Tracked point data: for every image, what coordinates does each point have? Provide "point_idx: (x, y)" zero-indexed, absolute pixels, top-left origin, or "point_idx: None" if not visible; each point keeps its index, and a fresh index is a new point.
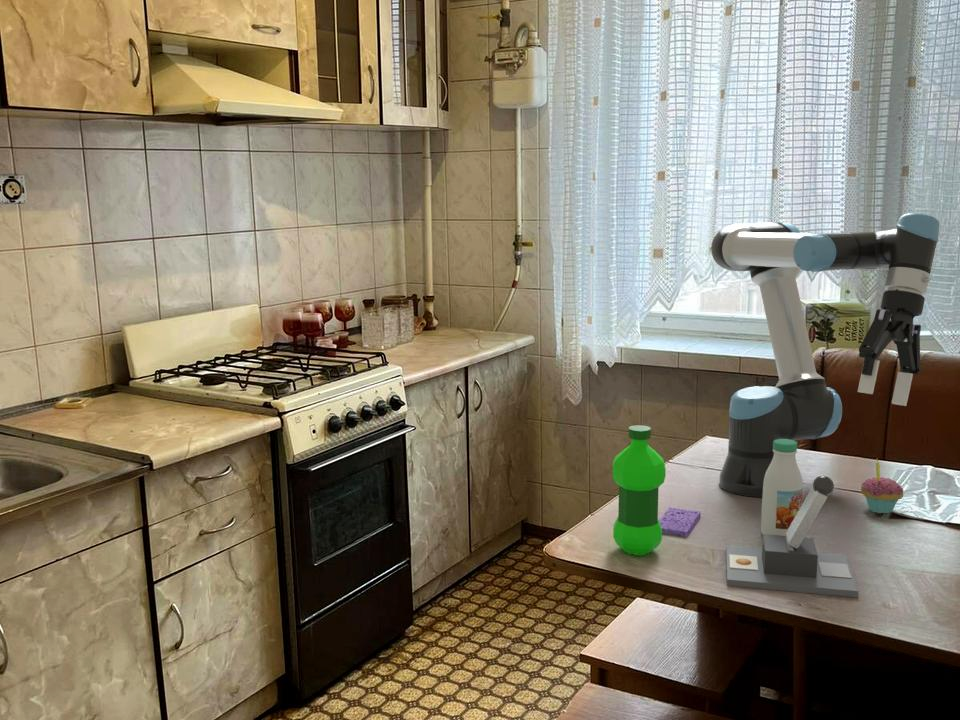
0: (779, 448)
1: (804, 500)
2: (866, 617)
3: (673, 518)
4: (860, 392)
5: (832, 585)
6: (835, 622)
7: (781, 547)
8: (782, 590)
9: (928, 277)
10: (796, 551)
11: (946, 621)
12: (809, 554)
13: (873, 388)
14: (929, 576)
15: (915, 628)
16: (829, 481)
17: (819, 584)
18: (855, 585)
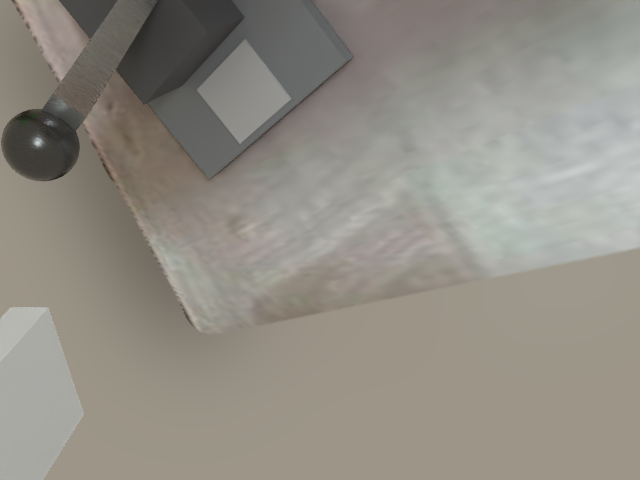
0: None
1: (85, 47)
2: (174, 215)
3: None
4: (47, 318)
5: (185, 129)
6: (121, 184)
7: (99, 11)
8: None
9: None
10: None
11: (271, 315)
12: (130, 87)
13: (49, 454)
14: (430, 245)
15: (211, 285)
16: (27, 177)
17: (166, 108)
18: (223, 164)
